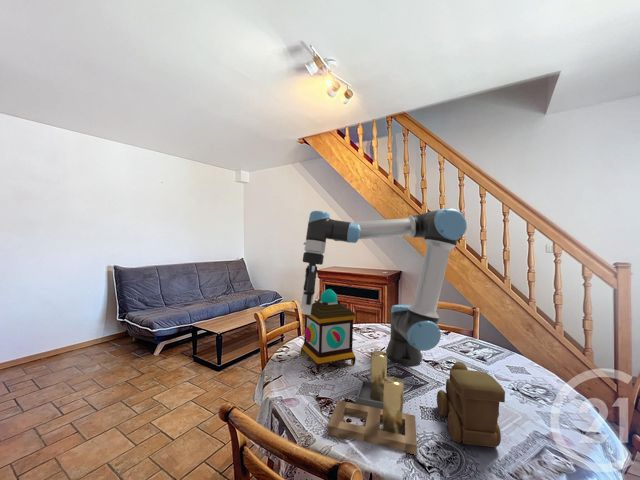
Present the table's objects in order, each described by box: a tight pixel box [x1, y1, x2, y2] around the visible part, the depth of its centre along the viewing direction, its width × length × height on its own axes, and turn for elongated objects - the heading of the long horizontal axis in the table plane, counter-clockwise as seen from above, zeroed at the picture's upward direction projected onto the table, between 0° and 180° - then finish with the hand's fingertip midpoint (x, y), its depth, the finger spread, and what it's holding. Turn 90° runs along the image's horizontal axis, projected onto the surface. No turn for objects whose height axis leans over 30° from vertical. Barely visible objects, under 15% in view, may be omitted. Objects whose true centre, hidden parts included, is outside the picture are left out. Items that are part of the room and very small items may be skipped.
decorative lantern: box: [300, 288, 357, 373], centre depth 118 cm, size 20×20×30 cm
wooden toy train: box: [436, 361, 506, 448], centre depth 77 cm, size 20×11×17 cm, turn 173°
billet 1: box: [369, 350, 388, 402], centre depth 90 cm, size 5×5×14 cm
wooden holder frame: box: [327, 399, 418, 456], centre depth 76 cm, size 22×12×2 cm, turn 74°
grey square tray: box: [355, 379, 383, 409], centre depth 90 cm, size 12×12×2 cm
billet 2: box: [381, 376, 405, 435], centre depth 74 cm, size 5×5×14 cm
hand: (305, 311), depth 101 cm, fingers open, 13 cm apart
